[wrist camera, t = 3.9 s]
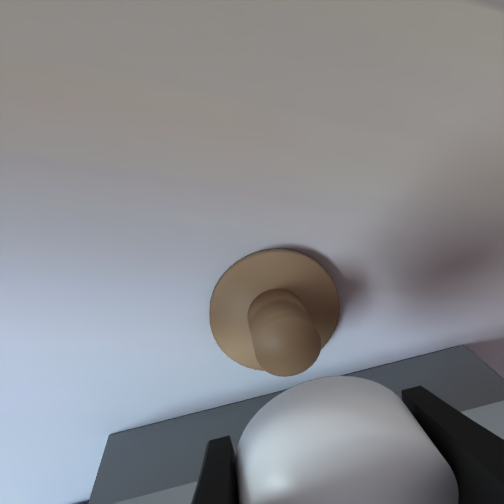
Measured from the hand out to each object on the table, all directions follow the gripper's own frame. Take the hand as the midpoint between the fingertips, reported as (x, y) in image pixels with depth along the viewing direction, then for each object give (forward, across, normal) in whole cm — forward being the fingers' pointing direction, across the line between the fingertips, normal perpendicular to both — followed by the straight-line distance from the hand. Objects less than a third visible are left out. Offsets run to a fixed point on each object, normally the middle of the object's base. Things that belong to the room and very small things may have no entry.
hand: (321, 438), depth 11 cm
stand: (+8, 0, 0) cm, 8 cm away
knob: (-1, 0, 0) cm, 1 cm away
